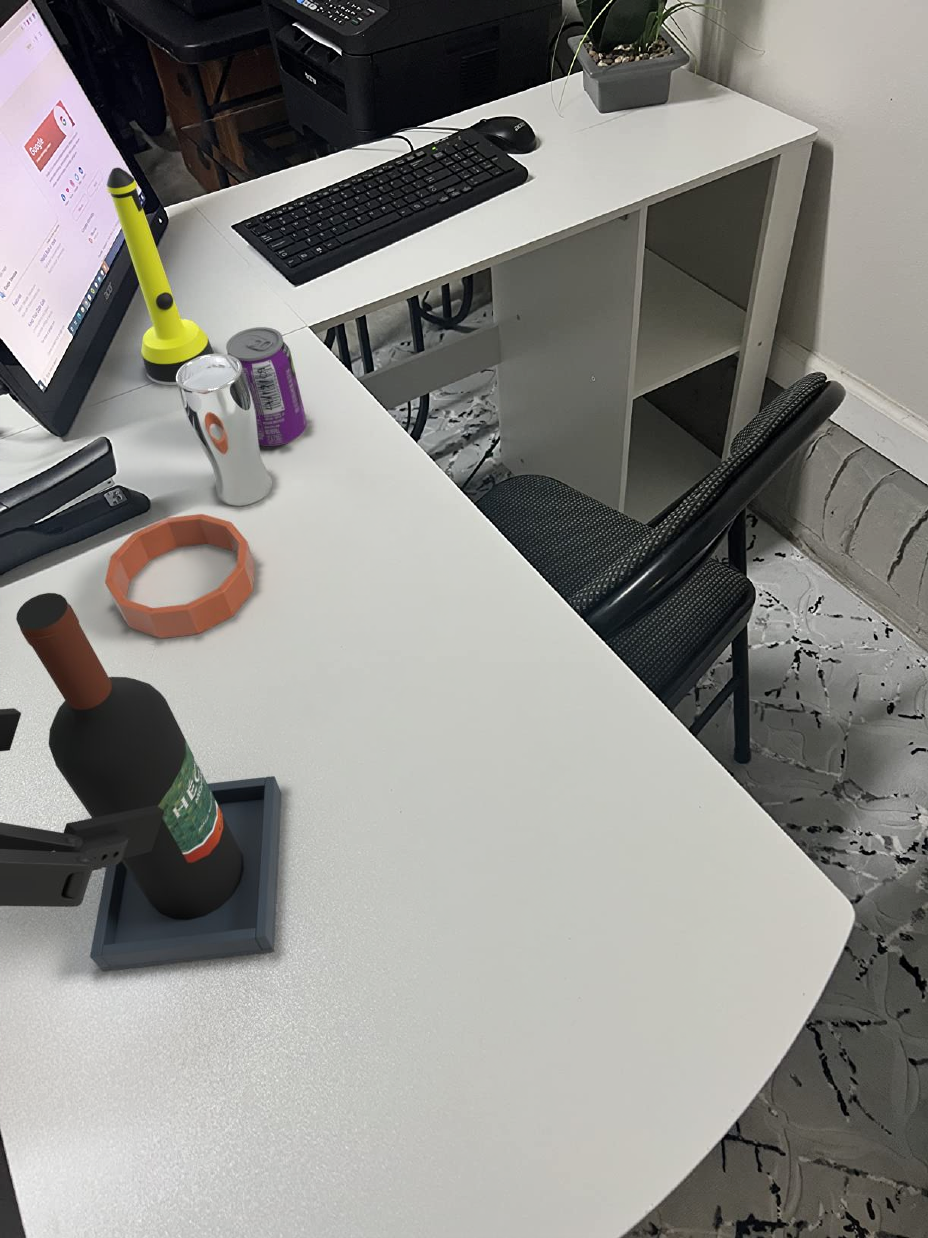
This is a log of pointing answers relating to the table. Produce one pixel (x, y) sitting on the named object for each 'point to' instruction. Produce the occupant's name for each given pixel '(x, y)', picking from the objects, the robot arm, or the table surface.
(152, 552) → the faceted bangle
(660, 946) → the table surface
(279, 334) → the beverage can
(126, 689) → the wine bottle
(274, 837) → the tray
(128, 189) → the flashlight
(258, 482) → the beer glass
